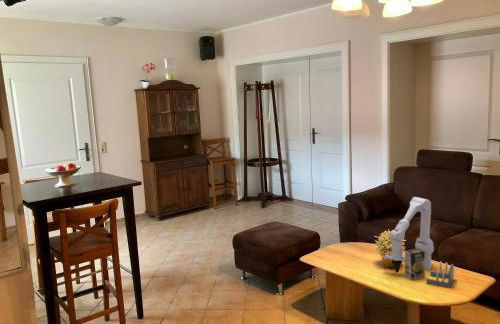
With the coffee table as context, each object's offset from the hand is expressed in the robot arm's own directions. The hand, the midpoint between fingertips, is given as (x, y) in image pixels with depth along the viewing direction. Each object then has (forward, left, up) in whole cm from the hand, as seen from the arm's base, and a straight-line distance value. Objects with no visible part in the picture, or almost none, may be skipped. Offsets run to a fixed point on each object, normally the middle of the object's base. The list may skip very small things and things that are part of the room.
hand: (397, 272), depth 241 cm
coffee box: (0, +10, -2) cm, 10 cm away
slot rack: (0, +23, -1) cm, 23 cm away
